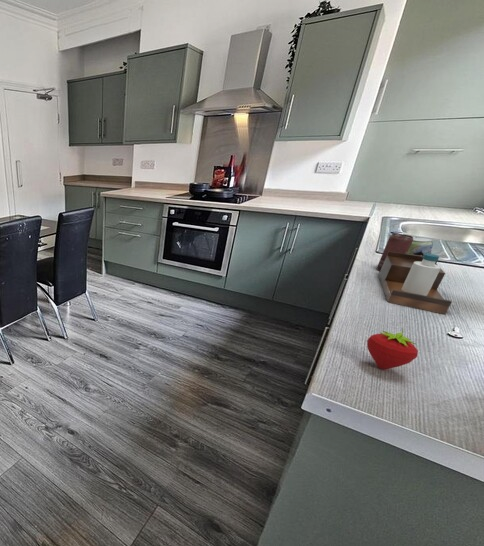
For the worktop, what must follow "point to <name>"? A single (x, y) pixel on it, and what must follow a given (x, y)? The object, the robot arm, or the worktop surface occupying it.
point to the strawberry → (391, 350)
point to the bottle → (422, 275)
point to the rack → (395, 276)
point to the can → (396, 246)
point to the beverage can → (420, 246)
